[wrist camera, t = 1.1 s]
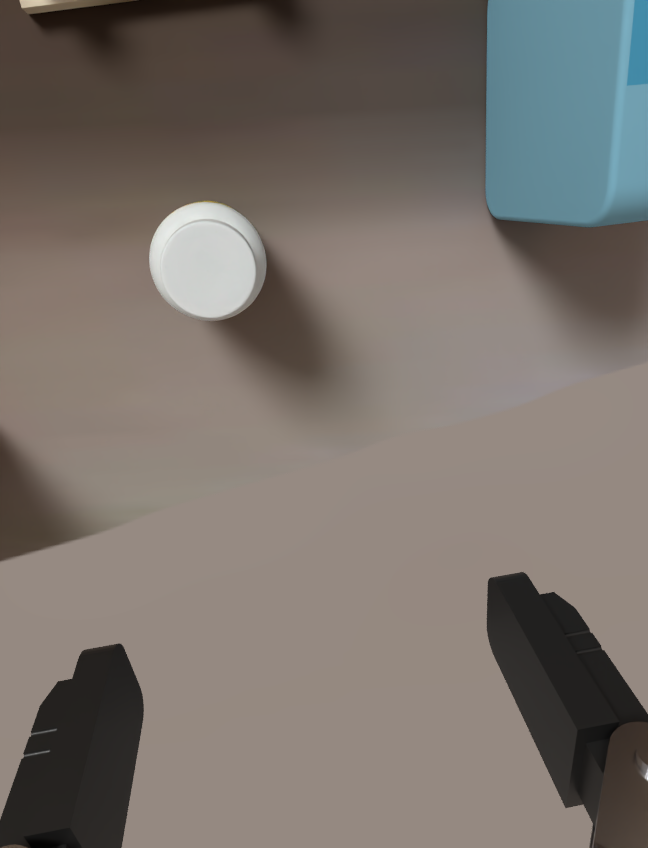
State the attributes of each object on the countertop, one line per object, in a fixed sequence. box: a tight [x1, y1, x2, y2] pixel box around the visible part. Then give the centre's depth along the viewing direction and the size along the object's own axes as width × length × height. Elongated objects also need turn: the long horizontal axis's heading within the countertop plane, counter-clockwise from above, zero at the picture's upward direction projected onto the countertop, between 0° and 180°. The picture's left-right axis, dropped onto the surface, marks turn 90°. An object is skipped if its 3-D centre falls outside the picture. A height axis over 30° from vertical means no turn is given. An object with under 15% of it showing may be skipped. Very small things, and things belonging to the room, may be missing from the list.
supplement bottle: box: [149, 201, 267, 321], centre depth 28 cm, size 5×5×10 cm
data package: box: [486, 0, 648, 227], centre depth 27 cm, size 12×4×12 cm, turn 6°
